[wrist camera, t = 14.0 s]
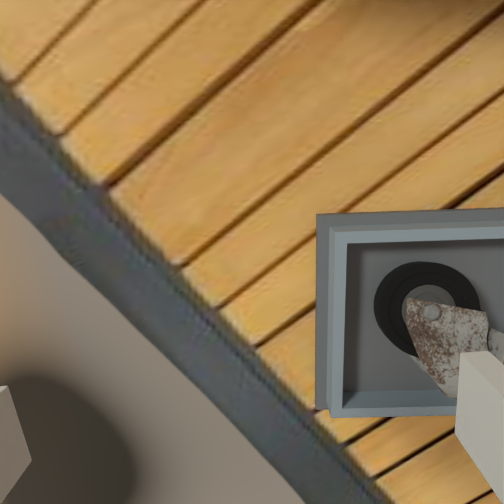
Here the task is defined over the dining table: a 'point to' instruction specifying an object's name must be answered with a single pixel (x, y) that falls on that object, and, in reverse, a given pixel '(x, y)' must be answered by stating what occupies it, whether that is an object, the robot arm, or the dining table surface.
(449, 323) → the caster wheel
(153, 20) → the dining table surface
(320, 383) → the tray
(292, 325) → the dining table surface
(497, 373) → the robot arm
